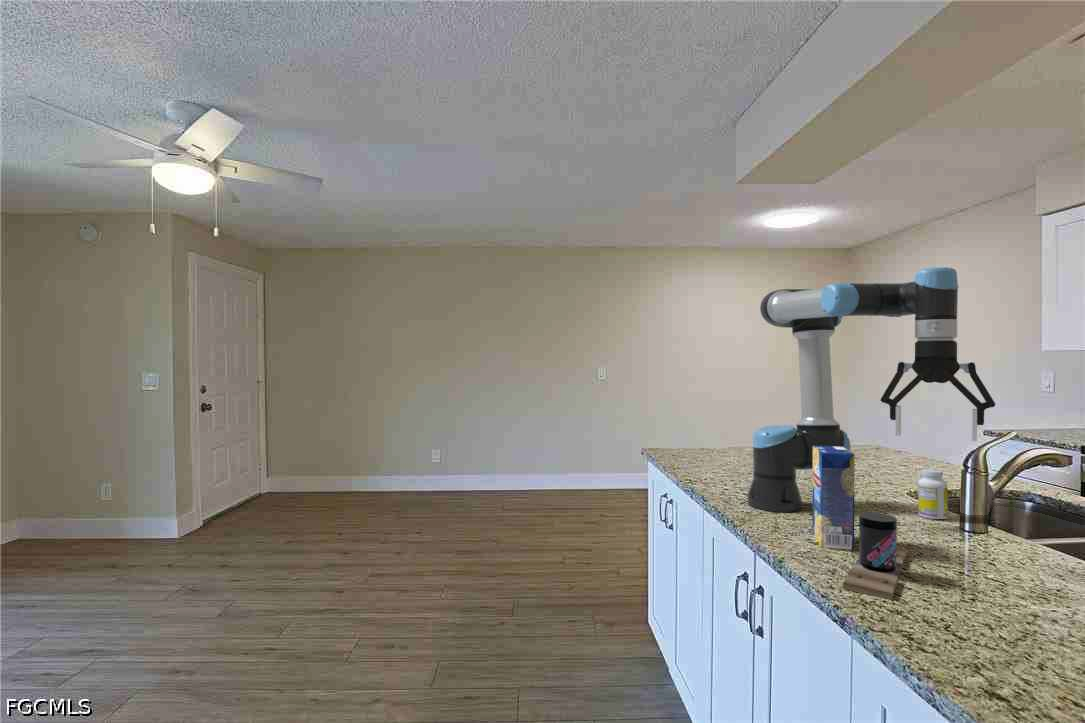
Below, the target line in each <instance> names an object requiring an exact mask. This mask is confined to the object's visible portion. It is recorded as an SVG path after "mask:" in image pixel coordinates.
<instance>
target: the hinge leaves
mask: <svg viewBox="0 0 1085 723" xmlns="http://www.w3.org/2000/svg"><path fill="white" fill-rule="evenodd" d="M857 558H858V559H857V561H855V563H854V566H851V568H850V570H849V571H848V573H847V575H846V576H845V578H844V581H843V582H842V589H843V590H846V591H852V592H856V593H860V594H865V595H868V596H874V597H879V598H882V599H887V600H891V601H892V600H893V599H894V595H895V593H896V590H897V586H898V583H899V577H900V576H901V571H902V570H903V568H904V564H905V562H906V558H907V550H906V549H901V548H897V558H896V569H895V570H894V571H893V572H876V571H872V570H869V569H866V568H864V567H863V566H862V565H861V564H860V562H859V554H857Z"/></svg>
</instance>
